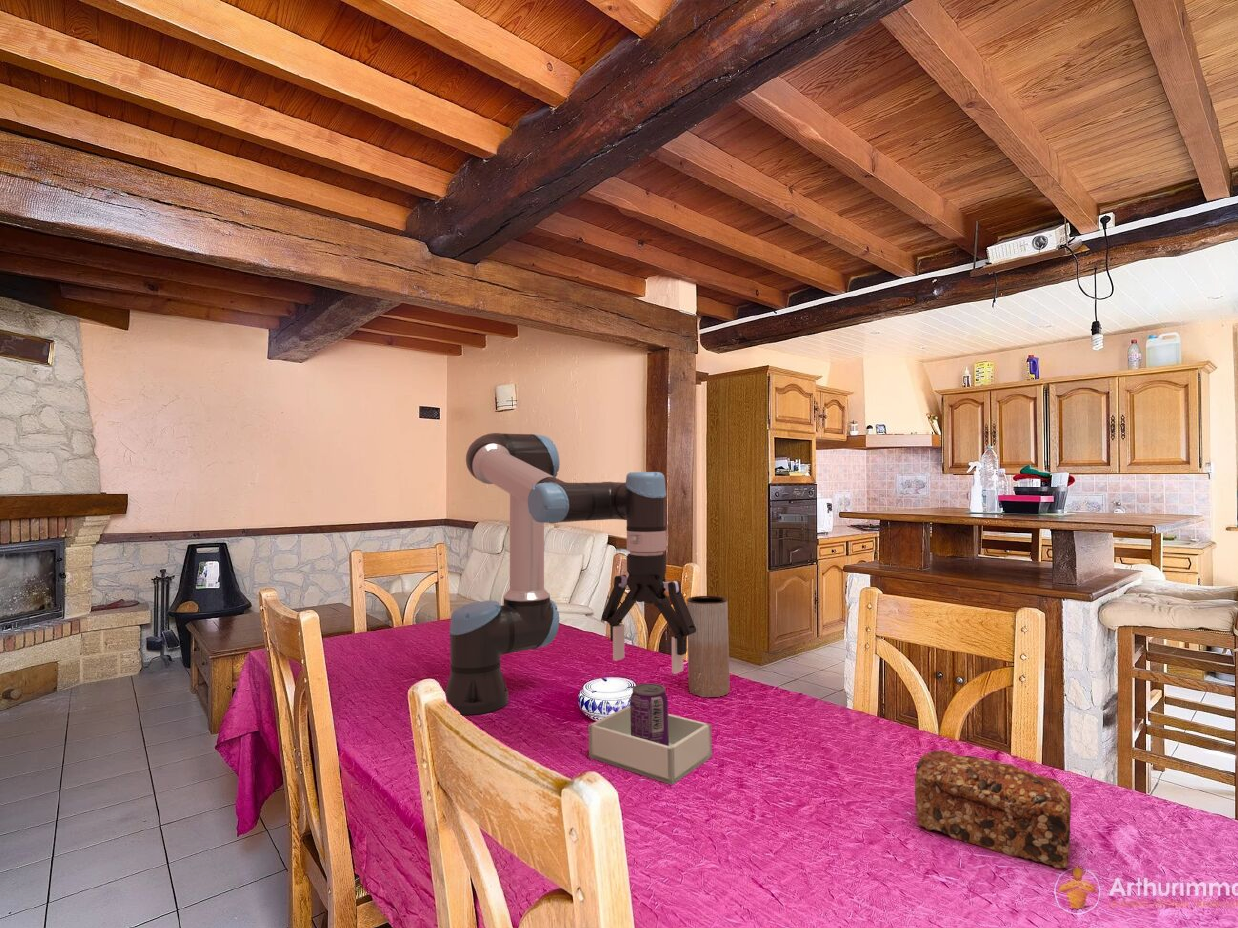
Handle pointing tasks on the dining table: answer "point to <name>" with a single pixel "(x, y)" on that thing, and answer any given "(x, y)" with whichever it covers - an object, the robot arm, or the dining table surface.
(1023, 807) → the bread
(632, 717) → the beverage can
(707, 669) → the planter
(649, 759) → the tub
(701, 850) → the dining table surface
